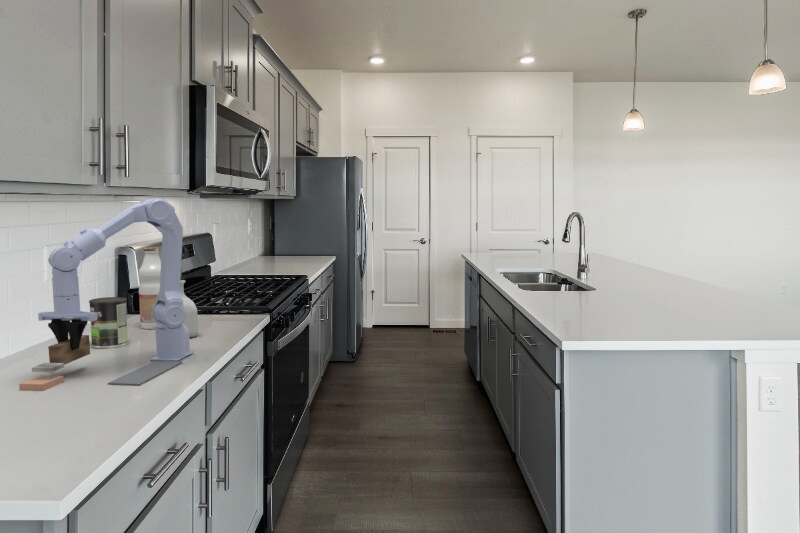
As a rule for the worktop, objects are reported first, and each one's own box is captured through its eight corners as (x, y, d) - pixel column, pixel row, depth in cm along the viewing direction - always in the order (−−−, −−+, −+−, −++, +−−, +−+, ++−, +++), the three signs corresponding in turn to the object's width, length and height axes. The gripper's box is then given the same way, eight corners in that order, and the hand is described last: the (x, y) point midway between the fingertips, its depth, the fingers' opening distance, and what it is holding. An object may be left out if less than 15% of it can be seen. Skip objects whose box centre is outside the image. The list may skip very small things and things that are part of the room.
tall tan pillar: (77, 353, 159) (75, 334, 158) (95, 353, 158) (93, 335, 157) (31, 371, 143) (30, 351, 142) (51, 372, 142) (49, 351, 141)
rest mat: (154, 362, 164) (154, 360, 164) (182, 362, 163) (182, 361, 163) (107, 384, 143) (107, 382, 143) (139, 385, 142) (139, 383, 142)
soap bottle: (189, 332, 203) (186, 265, 201) (200, 337, 196) (197, 267, 194) (160, 336, 197) (156, 267, 195) (170, 341, 190) (167, 269, 188)
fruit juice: (148, 330, 207) (143, 248, 204) (136, 327, 213) (132, 247, 211) (174, 326, 214) (170, 247, 211) (161, 323, 220) (158, 246, 217)
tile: (40, 375, 146) (19, 383, 139) (63, 376, 145) (42, 384, 138) (41, 382, 146) (19, 391, 139) (64, 383, 146) (43, 392, 139)
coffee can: (101, 350, 178) (99, 303, 177) (85, 345, 185) (82, 299, 183) (135, 344, 186) (132, 298, 185) (118, 339, 193) (116, 295, 191)
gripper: (27, 297, 148) (31, 352, 149) (83, 298, 146) (86, 353, 147) (48, 293, 155) (51, 345, 156) (101, 293, 153) (103, 346, 154)
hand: (69, 349), depth 152 cm, fingers closed on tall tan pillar, 2 cm apart
